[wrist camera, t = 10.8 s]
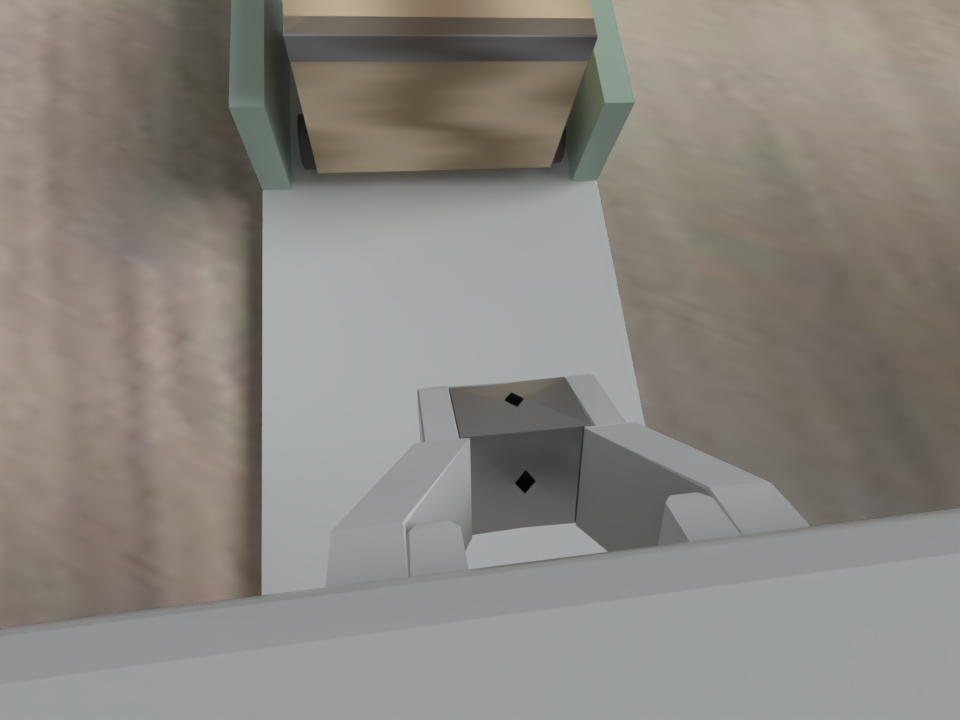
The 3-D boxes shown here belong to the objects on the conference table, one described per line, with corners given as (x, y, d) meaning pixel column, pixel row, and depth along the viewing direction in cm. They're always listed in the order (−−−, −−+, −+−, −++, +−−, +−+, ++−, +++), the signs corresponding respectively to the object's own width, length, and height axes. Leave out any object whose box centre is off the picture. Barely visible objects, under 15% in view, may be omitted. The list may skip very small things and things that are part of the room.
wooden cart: (531, 28, 30) (572, -152, 22) (558, 182, 27) (615, 37, 19) (303, 26, 28) (263, -167, 21) (307, 189, 26) (262, 35, 18)
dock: (550, -15, 32) (579, -135, 27) (661, 557, 23) (740, 558, 18) (267, -19, 30) (234, -150, 25) (268, 606, 21) (216, 623, 16)
